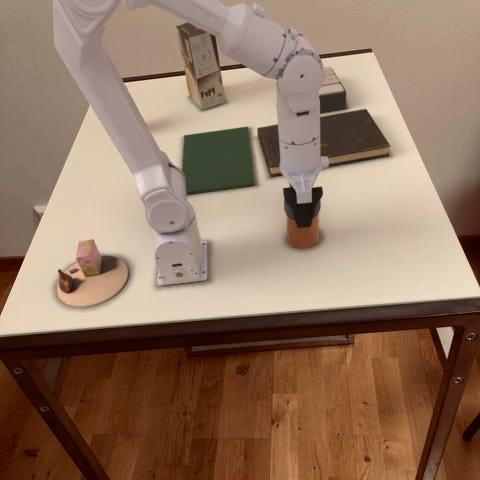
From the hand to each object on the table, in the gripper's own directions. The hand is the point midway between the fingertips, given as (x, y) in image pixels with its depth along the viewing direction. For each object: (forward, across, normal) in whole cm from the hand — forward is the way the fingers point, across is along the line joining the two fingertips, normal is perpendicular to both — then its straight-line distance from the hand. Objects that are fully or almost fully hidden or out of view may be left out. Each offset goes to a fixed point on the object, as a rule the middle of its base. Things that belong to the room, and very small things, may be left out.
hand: (302, 214), depth 80 cm
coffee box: (+5, +55, +19) cm, 58 cm away
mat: (+5, +27, +16) cm, 32 cm away
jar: (+5, 0, 0) cm, 5 cm away
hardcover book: (+5, +28, -5) cm, 29 cm away
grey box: (+5, +50, -6) cm, 50 cm away
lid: (-2, 0, 0) cm, 2 cm away
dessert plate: (+5, -6, +35) cm, 36 cm away
